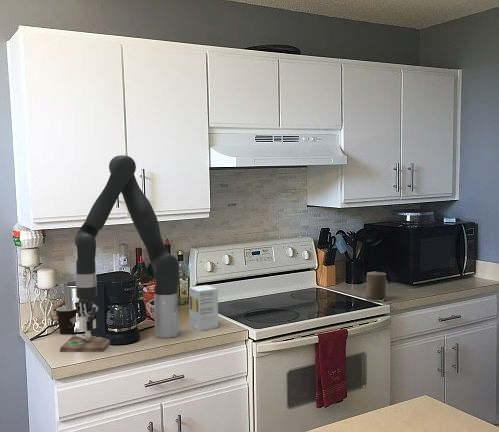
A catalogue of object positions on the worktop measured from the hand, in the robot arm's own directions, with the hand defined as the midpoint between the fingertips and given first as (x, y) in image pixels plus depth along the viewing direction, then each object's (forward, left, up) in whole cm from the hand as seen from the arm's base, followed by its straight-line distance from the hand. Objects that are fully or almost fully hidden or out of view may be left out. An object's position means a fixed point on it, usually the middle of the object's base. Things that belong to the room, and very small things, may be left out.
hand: (87, 329), depth 221 cm
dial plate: (0, 0, -6) cm, 6 cm away
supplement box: (-42, -25, -6) cm, 49 cm away
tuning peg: (+2, -2, -4) cm, 5 cm away
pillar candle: (-125, -73, -6) cm, 145 cm away
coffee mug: (+12, -18, -6) cm, 23 cm away
